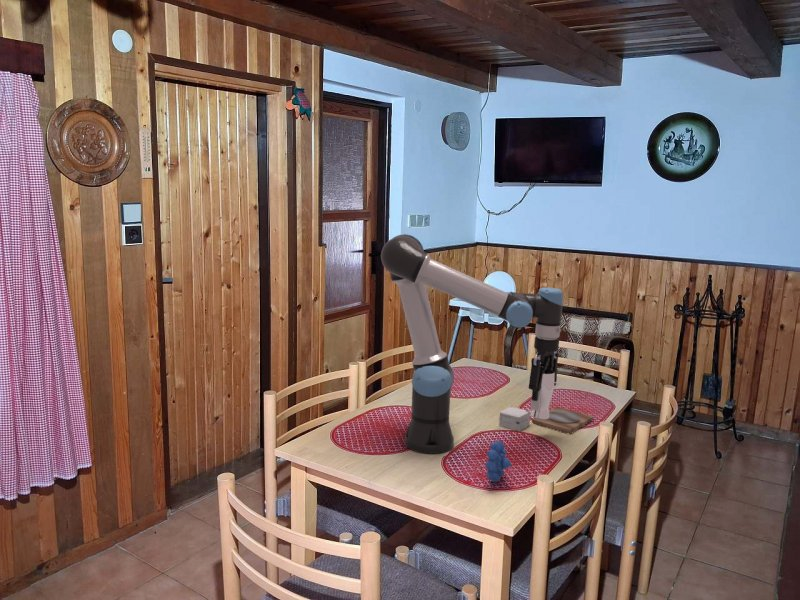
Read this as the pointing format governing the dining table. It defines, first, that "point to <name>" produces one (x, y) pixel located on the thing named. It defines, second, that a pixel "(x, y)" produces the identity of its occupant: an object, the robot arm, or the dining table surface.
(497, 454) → the grapes
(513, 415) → the small box
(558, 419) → the walnut board
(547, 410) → the beer glass
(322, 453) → the dining table surface
